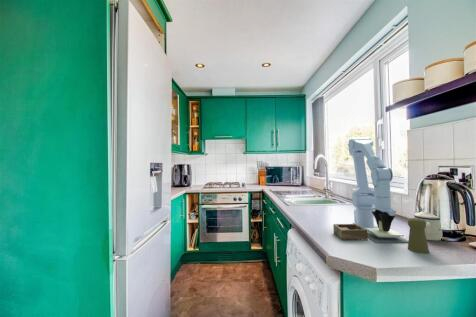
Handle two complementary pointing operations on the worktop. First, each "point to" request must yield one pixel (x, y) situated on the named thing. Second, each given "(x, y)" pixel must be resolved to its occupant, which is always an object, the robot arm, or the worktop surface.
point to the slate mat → (386, 239)
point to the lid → (384, 232)
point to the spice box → (350, 232)
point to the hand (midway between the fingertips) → (383, 229)
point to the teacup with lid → (431, 225)
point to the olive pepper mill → (417, 236)
